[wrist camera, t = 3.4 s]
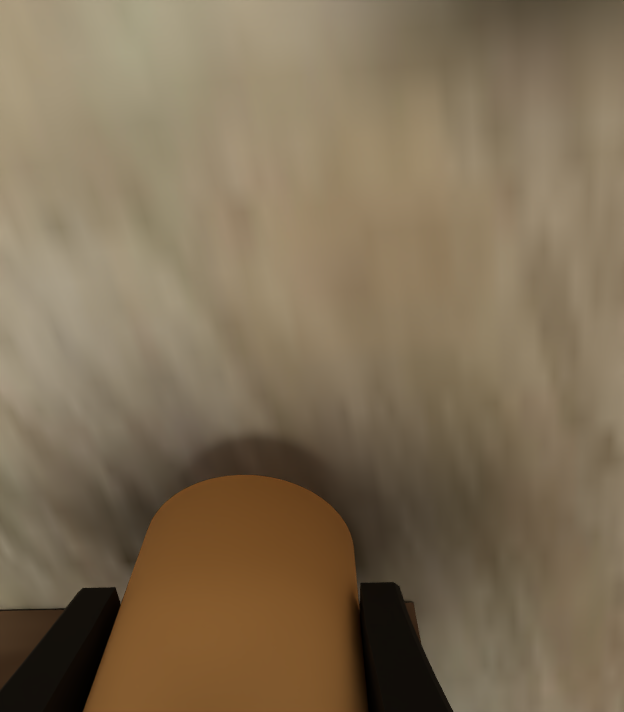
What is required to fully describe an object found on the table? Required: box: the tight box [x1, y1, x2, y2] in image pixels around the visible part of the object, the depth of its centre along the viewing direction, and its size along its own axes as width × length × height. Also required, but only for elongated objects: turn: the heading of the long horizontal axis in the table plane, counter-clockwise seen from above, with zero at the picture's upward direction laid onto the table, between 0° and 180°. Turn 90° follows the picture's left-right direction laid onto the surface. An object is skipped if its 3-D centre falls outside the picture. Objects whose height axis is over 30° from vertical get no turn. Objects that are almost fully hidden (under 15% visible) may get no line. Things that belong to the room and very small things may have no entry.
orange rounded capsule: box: [83, 475, 369, 712], centre depth 9 cm, size 4×4×5 cm
